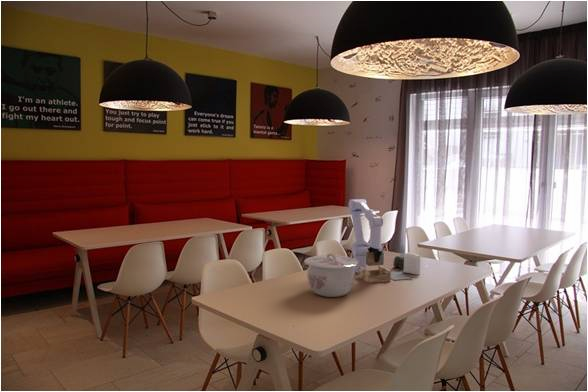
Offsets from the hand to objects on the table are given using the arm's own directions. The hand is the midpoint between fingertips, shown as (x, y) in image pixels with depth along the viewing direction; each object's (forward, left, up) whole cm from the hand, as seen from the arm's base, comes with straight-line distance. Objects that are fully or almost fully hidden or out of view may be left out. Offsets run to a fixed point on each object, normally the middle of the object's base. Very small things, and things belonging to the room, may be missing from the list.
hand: (374, 261), depth 261 cm
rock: (-21, +33, -11) cm, 41 cm away
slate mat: (-1, +15, -10) cm, 18 cm away
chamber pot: (+18, -34, -11) cm, 40 cm away
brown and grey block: (0, 0, -2) cm, 2 cm away
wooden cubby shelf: (0, 0, -10) cm, 10 cm away
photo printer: (-6, +28, -11) cm, 31 cm away
